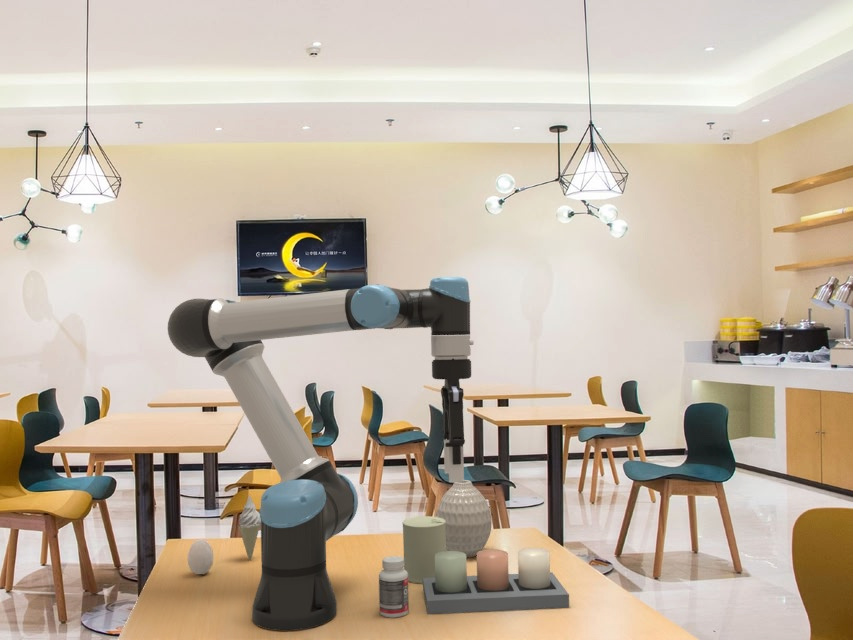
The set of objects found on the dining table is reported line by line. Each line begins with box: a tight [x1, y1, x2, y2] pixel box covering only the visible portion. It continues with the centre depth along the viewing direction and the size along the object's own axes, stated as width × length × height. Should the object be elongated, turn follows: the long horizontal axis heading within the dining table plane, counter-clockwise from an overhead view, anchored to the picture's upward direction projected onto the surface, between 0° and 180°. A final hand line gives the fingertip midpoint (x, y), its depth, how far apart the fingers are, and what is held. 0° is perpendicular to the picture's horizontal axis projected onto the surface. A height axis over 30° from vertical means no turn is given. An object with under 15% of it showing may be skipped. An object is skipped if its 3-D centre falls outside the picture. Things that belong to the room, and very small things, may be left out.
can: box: [402, 515, 447, 585], centre depth 157 cm, size 9×9×12 cm
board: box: [422, 571, 570, 615], centre depth 143 cm, size 26×13×2 cm, turn 94°
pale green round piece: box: [435, 550, 468, 593], centre depth 143 cm, size 6×6×6 cm
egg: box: [187, 538, 214, 575], centre depth 162 cm, size 5×5×8 cm
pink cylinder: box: [476, 548, 509, 591], centre depth 143 cm, size 6×6×6 cm
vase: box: [435, 479, 493, 559], centre depth 173 cm, size 13×13×17 cm
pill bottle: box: [378, 555, 410, 618], centre depth 137 cm, size 5×5×10 cm
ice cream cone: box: [237, 494, 261, 561], centre depth 172 cm, size 5×5×15 cm
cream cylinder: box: [517, 547, 551, 589], centre depth 144 cm, size 6×6×6 cm
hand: (453, 477), depth 143 cm, fingers open, 8 cm apart
